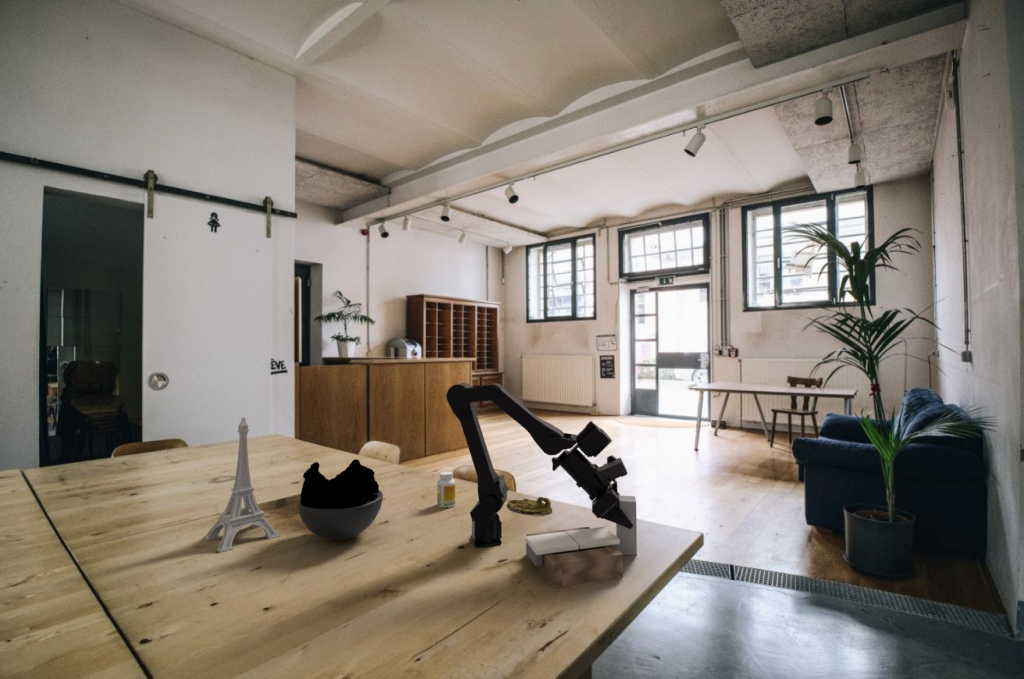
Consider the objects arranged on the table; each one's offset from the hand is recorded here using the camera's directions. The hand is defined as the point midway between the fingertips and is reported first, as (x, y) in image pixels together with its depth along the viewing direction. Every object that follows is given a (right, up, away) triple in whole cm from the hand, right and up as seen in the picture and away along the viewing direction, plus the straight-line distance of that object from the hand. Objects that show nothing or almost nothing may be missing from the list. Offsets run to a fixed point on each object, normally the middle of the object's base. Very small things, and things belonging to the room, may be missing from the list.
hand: (630, 520), depth 109 cm
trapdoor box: (-15, -7, -7) cm, 18 cm away
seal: (-22, -9, +30) cm, 38 cm away
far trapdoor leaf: (-10, -5, -6) cm, 12 cm away
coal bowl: (-70, -8, +8) cm, 71 cm away
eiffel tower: (-96, -8, +9) cm, 96 cm away
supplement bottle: (-48, -8, +33) cm, 58 cm away
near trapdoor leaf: (-19, -5, -9) cm, 21 cm away
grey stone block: (-1, -7, 0) cm, 7 cm away
